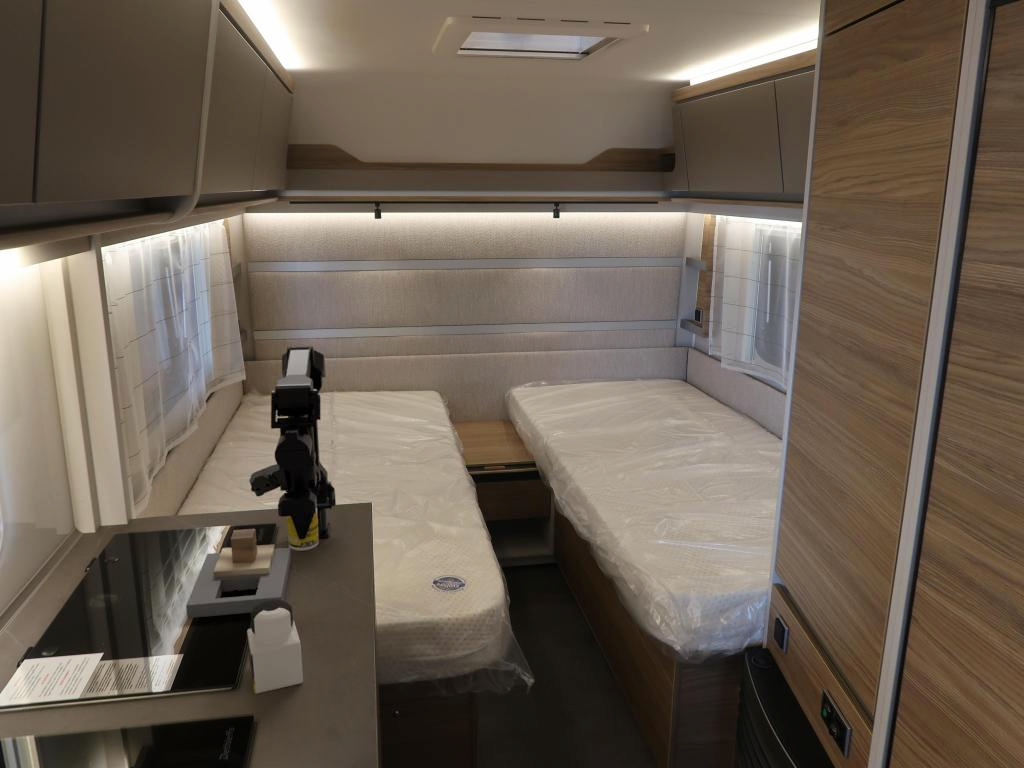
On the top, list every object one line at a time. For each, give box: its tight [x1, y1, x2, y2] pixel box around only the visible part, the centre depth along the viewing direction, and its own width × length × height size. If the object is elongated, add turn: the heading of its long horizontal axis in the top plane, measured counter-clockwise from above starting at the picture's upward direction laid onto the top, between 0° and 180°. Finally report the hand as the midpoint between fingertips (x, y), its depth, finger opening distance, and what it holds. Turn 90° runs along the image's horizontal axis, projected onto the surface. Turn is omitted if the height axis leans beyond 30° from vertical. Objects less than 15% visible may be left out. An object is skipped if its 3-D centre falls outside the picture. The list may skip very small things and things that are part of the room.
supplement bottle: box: [286, 507, 320, 551], centre depth 142 cm, size 5×5×10 cm
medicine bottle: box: [246, 600, 304, 694], centre depth 119 cm, size 7×7×12 cm
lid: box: [213, 528, 276, 578], centre depth 150 cm, size 10×10×6 cm
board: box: [185, 547, 292, 619], centre depth 147 cm, size 20×16×2 cm
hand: (303, 532), depth 143 cm, fingers closed on supplement bottle, 5 cm apart
